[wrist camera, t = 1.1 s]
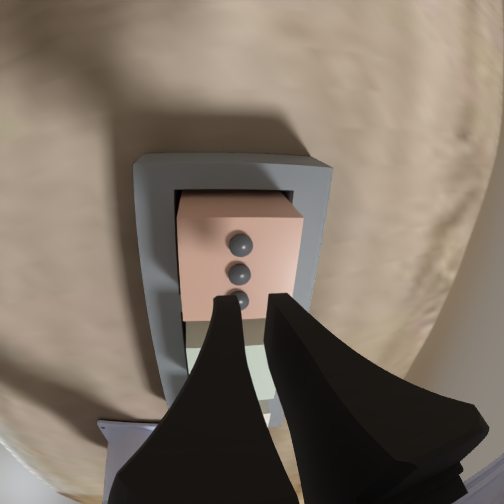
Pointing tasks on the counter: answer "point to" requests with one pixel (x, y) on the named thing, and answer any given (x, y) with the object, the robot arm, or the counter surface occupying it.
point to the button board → (166, 240)
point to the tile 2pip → (253, 351)
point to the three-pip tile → (236, 248)
